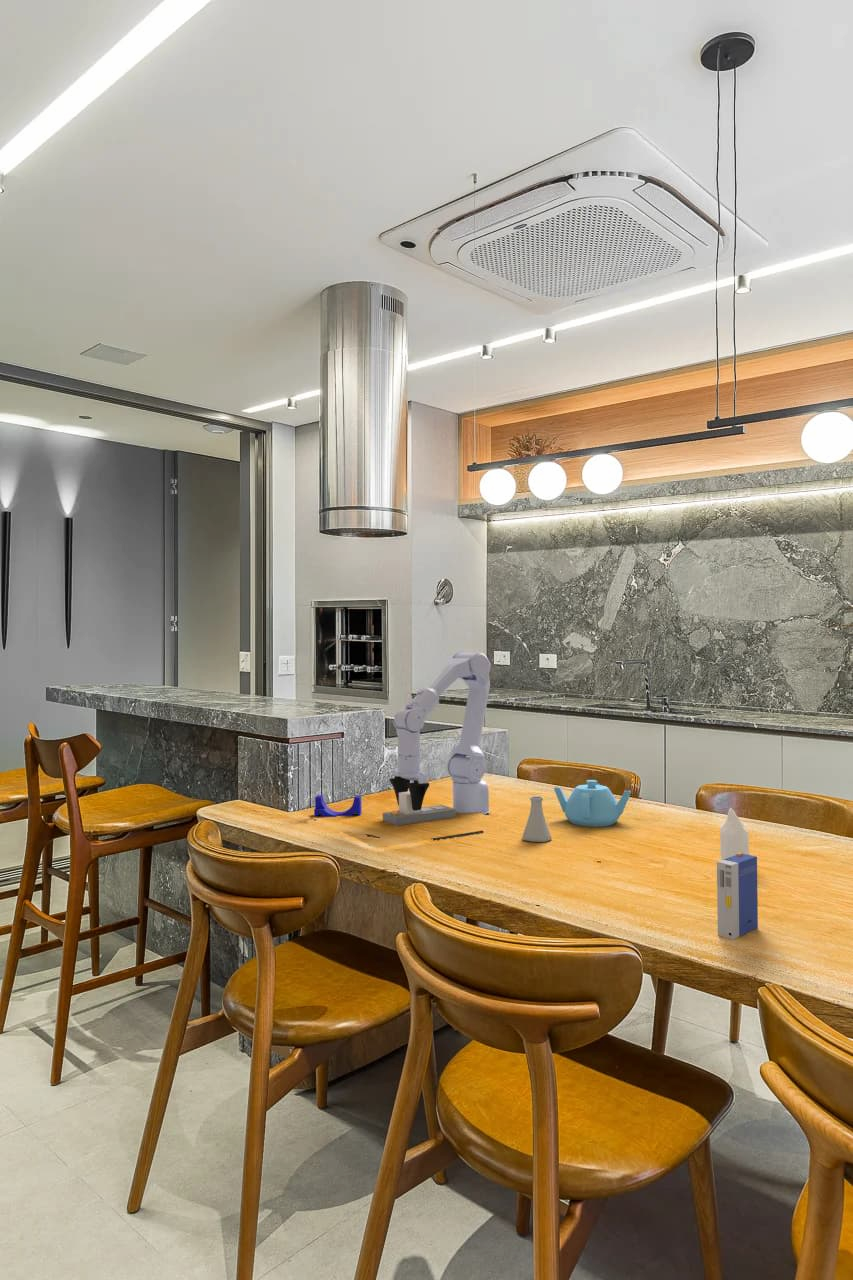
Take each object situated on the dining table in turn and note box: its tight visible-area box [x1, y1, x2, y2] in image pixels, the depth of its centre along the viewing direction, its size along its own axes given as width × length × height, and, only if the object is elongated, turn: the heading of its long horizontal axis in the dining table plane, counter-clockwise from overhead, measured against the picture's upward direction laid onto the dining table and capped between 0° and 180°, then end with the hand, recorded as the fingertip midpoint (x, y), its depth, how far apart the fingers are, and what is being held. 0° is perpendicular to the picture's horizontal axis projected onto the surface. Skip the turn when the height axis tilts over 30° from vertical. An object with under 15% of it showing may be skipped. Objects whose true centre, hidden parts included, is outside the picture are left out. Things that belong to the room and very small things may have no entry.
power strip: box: [382, 804, 457, 826], centre depth 213 cm, size 18×7×3 cm, turn 121°
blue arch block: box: [313, 794, 363, 821], centre depth 219 cm, size 12×4×6 cm, turn 86°
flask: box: [522, 795, 553, 843], centre depth 194 cm, size 7×7×10 cm
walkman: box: [716, 852, 759, 941], centre depth 131 cm, size 8×3×12 cm, turn 130°
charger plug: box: [398, 790, 420, 815], centre depth 211 cm, size 4×4×7 cm
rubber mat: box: [431, 830, 484, 841], centre depth 201 cm, size 14×10×1 cm
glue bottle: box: [719, 807, 750, 860], centre depth 168 cm, size 6×12×6 cm
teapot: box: [553, 779, 632, 828], centre depth 212 cm, size 15×15×11 cm
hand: (409, 807), depth 211 cm, fingers open, 7 cm apart
